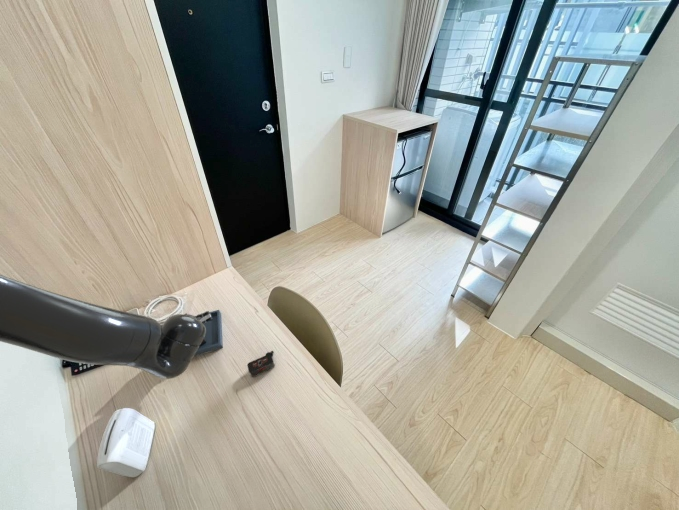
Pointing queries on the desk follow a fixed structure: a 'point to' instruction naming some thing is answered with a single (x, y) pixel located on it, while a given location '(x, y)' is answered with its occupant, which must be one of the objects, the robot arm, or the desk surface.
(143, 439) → the photo printer
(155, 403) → the desk surface
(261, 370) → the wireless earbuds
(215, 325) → the tray
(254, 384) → the desk surface
